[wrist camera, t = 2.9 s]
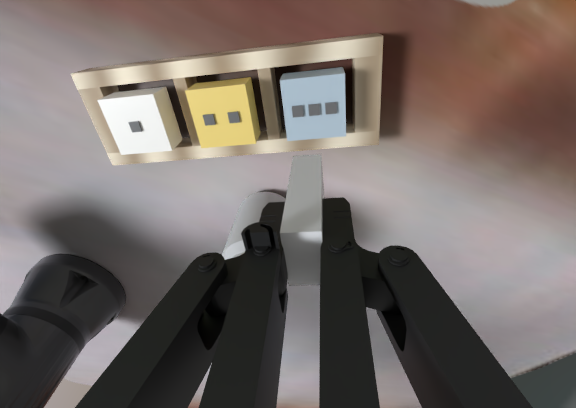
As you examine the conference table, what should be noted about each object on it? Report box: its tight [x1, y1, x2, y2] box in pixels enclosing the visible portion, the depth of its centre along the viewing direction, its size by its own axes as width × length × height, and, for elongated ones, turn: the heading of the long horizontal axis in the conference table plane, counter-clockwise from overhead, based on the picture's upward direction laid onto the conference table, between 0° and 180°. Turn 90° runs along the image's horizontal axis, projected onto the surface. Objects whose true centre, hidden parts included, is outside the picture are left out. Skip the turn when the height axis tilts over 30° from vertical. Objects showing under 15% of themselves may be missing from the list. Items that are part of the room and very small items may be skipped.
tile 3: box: [280, 67, 346, 141], centre depth 29 cm, size 6×6×3 cm
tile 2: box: [185, 77, 261, 148], centre depth 31 cm, size 6×6×3 cm
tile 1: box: [97, 87, 183, 155], centre depth 32 cm, size 6×6×3 cm
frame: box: [71, 33, 383, 165], centre depth 33 cm, size 30×10×3 cm, turn 97°
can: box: [222, 191, 286, 260], centre depth 37 cm, size 8×8×12 cm
